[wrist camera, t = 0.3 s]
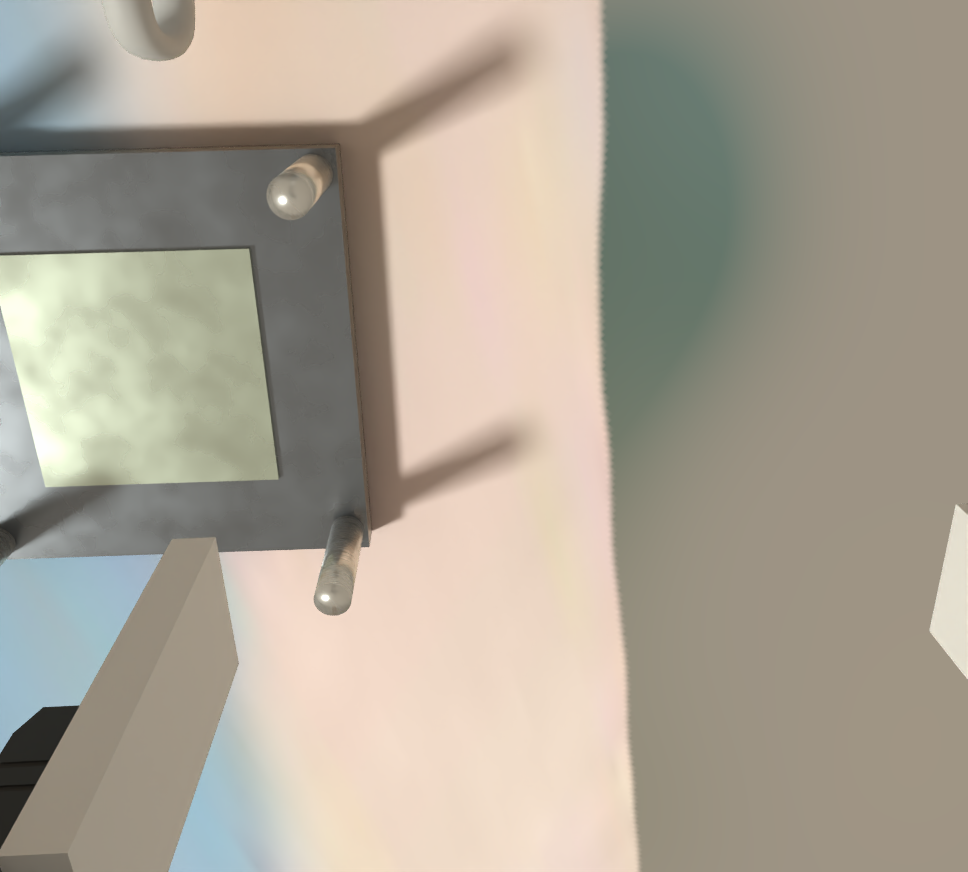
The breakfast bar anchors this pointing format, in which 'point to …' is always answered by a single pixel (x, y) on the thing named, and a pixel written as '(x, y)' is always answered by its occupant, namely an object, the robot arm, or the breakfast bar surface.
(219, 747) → the breakfast bar surface
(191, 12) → the mug
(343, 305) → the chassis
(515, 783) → the breakfast bar surface
